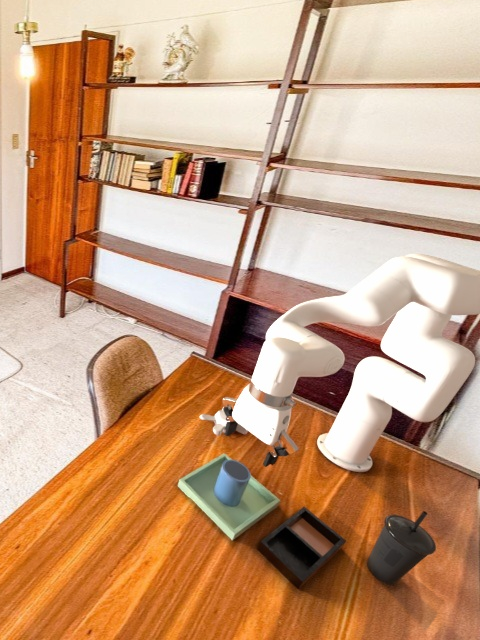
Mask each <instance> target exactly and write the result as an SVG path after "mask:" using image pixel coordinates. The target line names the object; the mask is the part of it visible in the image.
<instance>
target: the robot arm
mask: <svg viewBox="0 0 480 640" xmlns="http://www.w3.org/2000/svg"><path fill="white" fill-rule="evenodd" d="M474 315H476V316H477V315H480V270H478V269H475V268H472V267H469V266H466V265H462V264H460V263H457V262H454V261H450V260H448V259H443V258H441V257H437V256H434V255H429V254H425V253H424V254H423V253H410V254H407V255H404V256H397V257H393V258H391V259H389V260H388V261H386V262H385V263H383V264H382V265H381V266H380V267H378V268H377V269H376V270H374V271H373V272H372V273H371V274H369V275H367V276H366V278H364V279H363V280H361V281H360V282H359V283H357V285H355V286H354V287H353V288H351V289H350V290H349V291H348V292H346V293H344V294H341V295H333V296H325V297H320V298H315V299H311V300H307V301H304V302H301V303H299V304H296V305H295V306H293V307H292V308H290V309H289V310H288V311H286V312H285V313H284V314H282V315H281V316H280V317H278V318H277V320H275V321H274V322H273V323H272V324H271V326H269V327H268V329H267V331H266V334H265V341H264V342H263V344H262V347H261V349H260V353H259V355H258V359H257V361H256V365H255V367H254V371H253V374H252V376H251V379H250V382H249V383H248V384H247V385H245V387H244V388H243V390H242V391H241V393H240V394H239V396H238V398H237V399H236V398H233V397H229V396H225V397H223V398H222V399H221V402H222V406H223V407H224V408H223V407H222V409H223V410H224V413H225V415H226V421H227V424H226V427H225V429H226V431H225V433H224V436H225V437H229V436H231V435H233V434H234V433H235V432H237V431H236V428H237V425H238V423H239V424H240V425H241V426H243V427H244V428H245V429H247V430H248V432H249V433H250V434H252V435H253V436H254V437H256V438H257V439H258V440H260V441H261V442H263V443H264V444H266V445H267V447H268V450H269V451H268V452H267V453H266V455H265V457H264V460H263V463H262V466H264V468H267V467H269V466H270V465H271V466H274V465H276V464H277V462H278V459H279V457H288V456H290V455H293V454H295V453H297V452H298V451H299V450H300V448H299V447H298V445H297V444H296V443H295V442H294V440H293V439H292V438H291V437H290V435H289V434H288V429H289V425H290V421H291V417H292V409H294V408H295V407H296V406H297V401H295V400H294V399H293V395H294V394H293V392H294V389H295V387H296V385H297V381H298V379H299V378H301V377H303V378H304V377H306V378H321V377H327V376H330V375H334V374H335V373H337V372H338V371H340V369H341V368H342V367H343V366H344V364H345V359H346V358H345V354H344V352H343V350H341V348H340V347H339V346H337V345H336V344H334V343H332V342H330V341H329V340H327V339H325V338H323V337H322V336H320V335H318V334H317V333H315V332H313V331H312V330H310V329H308V328H306V327H307V326H309V325H312V324H313V325H314V324H317V323H337V324H344V325H352V326H359V327H360V326H361V327H373V328H375V327H379V326H383V324H385V323H386V322H388V321H389V320H390V319H391V318H393V317H394V318H393V320H392V321H391V322H390V325H389V326H388V328H387V330H386V331H385V333H384V335H383V337H382V339H381V342H380V349H381V351H382V352H383V353H384V354H385V355H387V356H388V357H390V358H391V359H393V360H395V361H397V362H399V363H400V364H403V365H404V366H406V367H408V368H410V369H412V370H413V371H416V372H418V373H420V374H422V375H423V376H424V377H425V378H424V377H421V376H420V375H418V374H416V373H415V372H413V371H411V370H409V369H407V368H405V367H404V366H401V365H400V364H397V363H396V362H394V361H392V360H390V359H387V358H384V357H382V356H368V357H365V358H363V359H362V360H361V361H360V362H359V363H358V364H357V366H356V368H355V370H354V373H353V379H352V382H351V386H350V389H349V392H348V393H347V394H348V395H347V396H346V398H345V400H344V402H343V404H342V406H341V408H340V409H339V412H338V413H337V416H336V417H335V419H334V422H333V424H332V426H331V428H330V429H329V431H328V432H327V433H322V434H320V435H319V436H318V438H317V441H316V444H317V447H318V450H319V451H320V453H322V454H323V456H324V457H326V458H327V459H328V460H329V461H330V462H332V463H333V464H335V465H337V466H338V467H341V468H343V469H345V470H347V471H352V472H356V473H357V472H358V473H364V472H368V471H370V470H371V468H372V467H373V458H372V457H371V455H370V454H371V453H372V451H373V449H374V448H375V446H376V444H377V443H378V441H379V439H380V437H381V435H382V434H383V433H384V431H385V429H386V428H387V425H388V424H389V422H390V421H391V419H392V415H393V408H394V409H396V410H397V411H399V412H400V413H402V414H404V415H405V416H407V417H409V418H410V419H412V420H415V421H417V422H420V423H429V422H432V421H434V420H436V419H437V418H438V417H440V416H441V414H442V413H443V412H444V411H445V410H446V408H447V407H448V406H449V404H450V403H451V402H452V401H453V399H454V397H455V396H456V395H457V393H458V392H459V391H460V389H461V388H462V387H463V385H464V383H465V382H466V381H467V379H468V378H469V376H470V375H471V373H472V372H473V369H474V368H475V365H476V356H475V355H474V353H473V351H471V350H470V349H469V348H468V347H466V346H464V345H461V344H460V343H457V342H455V341H453V340H451V339H449V338H446V337H444V336H443V331H444V330H445V328H446V327H447V325H448V323H449V322H450V321H451V319H452V316H474ZM281 441H282V442H281ZM282 443H283V444H284V446H286V447H283V444H282Z"/></svg>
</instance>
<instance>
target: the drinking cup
mask: <svg viewBox="0 0 480 640" xmlns="http://www.w3.org/2000/svg"><path fill="white" fill-rule="evenodd" d="M427 516H428V512H427V511H425V510H422V512H421V513H420V514H419V516H418V517H417V519H416V520H415V521H413V520H412V519H409V518H408V517H405V516H403V515H400V514H399V515H398V514H388V515H387V516H386V517H384V518H385V519H384V524H383V527H382V529H381V530H380V533H379V535H378V537H377V539H376V542H375V544H374V546H373V548H372V550H371V552H370V554H369V557H368V558H367V561H366V567H367V569H368V571H369V572H370V573H371V575H372V576H373V577H375V578H376V579H377V580H378V581H380V582H381V583H383V584H386V585H395V584H396V583H397V582H398V581H399V580H401V578H403V577H404V576H405V575H406V574H408V572H410V571H411V570H412V569H413V568H415V567H416V566H417V565H418V564H419V563H420V562H422V561H423V560H424V559H425V558H426V557H427V556H431V555H433V554H434V553H435V552H436V549H437V545H436V542H435V540H434V538H433V537H432V535H431V534H430V533H429V532H428V531H427V530H426V529H425V528H424V527H423V526H421V524H422V522H423V521H424V520H425V519H426V517H427Z"/></svg>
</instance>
